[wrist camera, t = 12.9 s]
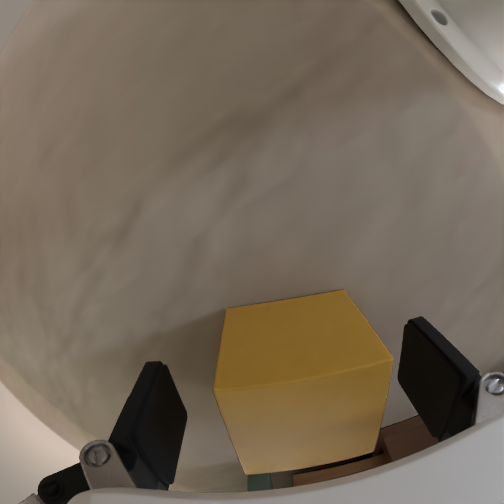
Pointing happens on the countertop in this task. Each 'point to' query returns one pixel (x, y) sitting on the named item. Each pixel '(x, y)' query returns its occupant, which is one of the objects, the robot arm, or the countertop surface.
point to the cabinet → (403, 439)
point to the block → (301, 382)
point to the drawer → (317, 474)
